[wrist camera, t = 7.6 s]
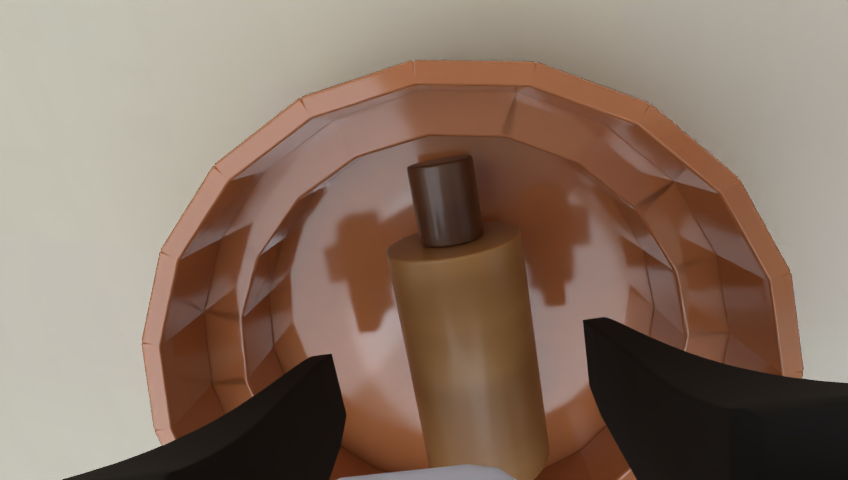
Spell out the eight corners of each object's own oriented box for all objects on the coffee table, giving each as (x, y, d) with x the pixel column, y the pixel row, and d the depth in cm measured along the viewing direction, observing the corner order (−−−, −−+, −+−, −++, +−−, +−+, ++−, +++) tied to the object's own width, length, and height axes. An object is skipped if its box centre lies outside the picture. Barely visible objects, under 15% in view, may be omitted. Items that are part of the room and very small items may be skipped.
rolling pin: (527, 454, 18) (580, 536, 14) (429, 484, 17) (457, 578, 13) (483, 146, 15) (534, 148, 11) (364, 169, 14) (377, 179, 11)
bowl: (775, 379, 16) (911, 488, 12) (403, 568, 19) (388, 717, 15) (532, -36, 14) (576, -119, 9) (141, 260, 17) (14, 318, 12)
